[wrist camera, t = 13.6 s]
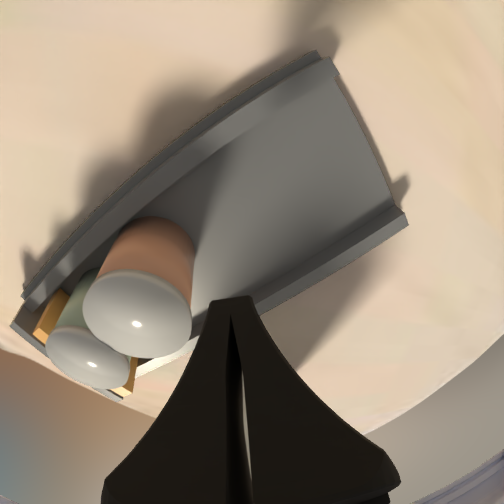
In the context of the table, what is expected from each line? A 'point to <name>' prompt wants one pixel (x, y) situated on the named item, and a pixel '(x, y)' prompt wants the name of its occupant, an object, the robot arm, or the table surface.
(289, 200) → the grey rectangular tray
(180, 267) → the jar
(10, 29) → the table surface
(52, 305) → the pusher
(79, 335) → the jar
